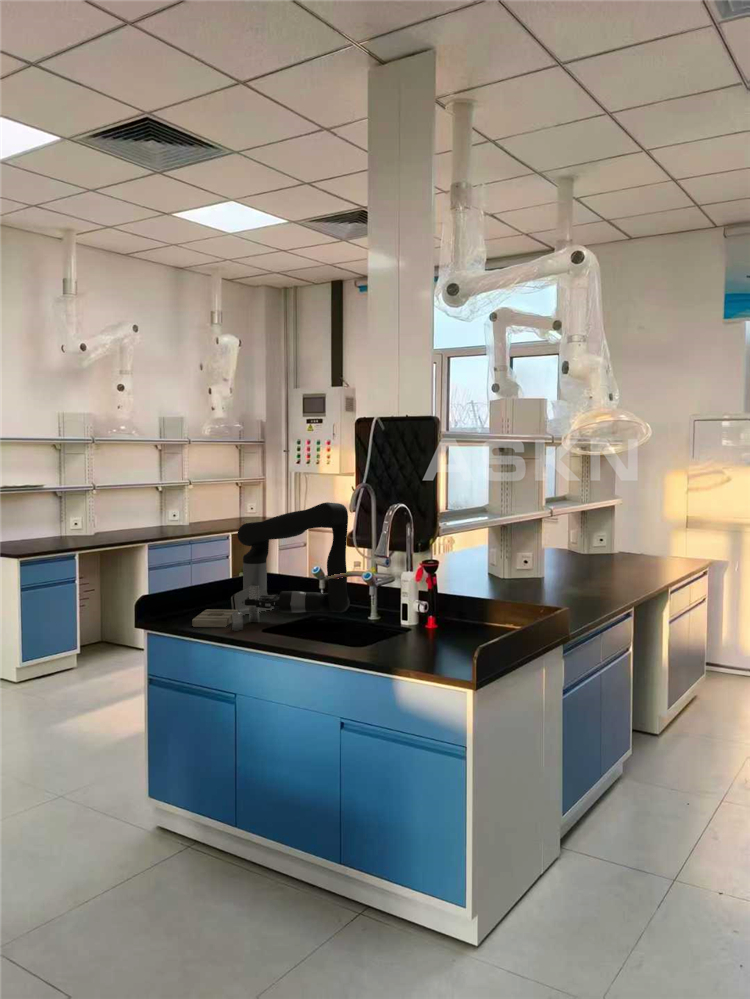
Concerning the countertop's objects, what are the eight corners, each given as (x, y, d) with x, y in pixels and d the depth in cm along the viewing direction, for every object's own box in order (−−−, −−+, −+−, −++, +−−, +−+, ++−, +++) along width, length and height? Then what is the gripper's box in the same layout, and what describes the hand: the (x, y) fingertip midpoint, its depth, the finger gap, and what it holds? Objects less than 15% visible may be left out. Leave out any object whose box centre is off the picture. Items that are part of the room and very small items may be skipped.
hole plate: (206, 615, 293) (206, 609, 293) (238, 616, 292) (238, 609, 292) (192, 626, 275) (192, 619, 275) (226, 627, 275) (226, 620, 274)
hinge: (240, 616, 293) (234, 590, 295) (233, 618, 296) (227, 592, 298) (274, 609, 305) (269, 584, 307) (267, 612, 308) (261, 587, 310)
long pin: (250, 620, 285) (250, 585, 284) (260, 620, 285) (259, 585, 284) (248, 622, 281) (247, 586, 281) (258, 623, 281) (257, 587, 280)
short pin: (233, 628, 272) (233, 611, 272) (244, 628, 272) (243, 611, 272) (231, 631, 269) (231, 613, 268) (241, 631, 268) (241, 613, 268)
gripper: (296, 587, 289) (250, 587, 290) (290, 594, 275) (241, 594, 275) (296, 608, 289) (250, 607, 290) (290, 616, 275) (241, 615, 276)
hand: (246, 601), depth 283 cm, fingers closed on long pin, 3 cm apart
